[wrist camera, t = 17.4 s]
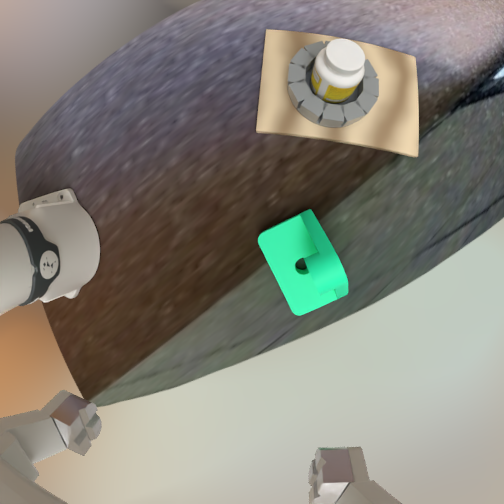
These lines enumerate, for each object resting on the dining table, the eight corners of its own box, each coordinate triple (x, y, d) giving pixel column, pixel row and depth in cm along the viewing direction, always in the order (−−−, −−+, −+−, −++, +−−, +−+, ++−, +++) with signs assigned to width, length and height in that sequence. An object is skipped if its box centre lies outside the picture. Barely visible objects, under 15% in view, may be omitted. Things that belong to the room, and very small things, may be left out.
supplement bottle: (358, 88, 31) (382, 58, 21) (333, 114, 32) (351, 88, 22) (326, 61, 30) (340, 24, 21) (300, 86, 31) (306, 52, 22)
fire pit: (284, 122, 33) (285, 113, 30) (290, 50, 31) (290, 36, 27) (368, 134, 33) (378, 128, 29) (369, 62, 30) (377, 51, 26)
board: (256, 132, 35) (256, 130, 34) (266, 33, 32) (266, 29, 31) (414, 157, 34) (417, 156, 32) (412, 60, 30) (415, 57, 29)
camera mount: (256, 233, 38) (248, 248, 28) (309, 208, 37) (319, 214, 27) (294, 310, 40) (298, 346, 30) (344, 287, 38) (363, 318, 28)
